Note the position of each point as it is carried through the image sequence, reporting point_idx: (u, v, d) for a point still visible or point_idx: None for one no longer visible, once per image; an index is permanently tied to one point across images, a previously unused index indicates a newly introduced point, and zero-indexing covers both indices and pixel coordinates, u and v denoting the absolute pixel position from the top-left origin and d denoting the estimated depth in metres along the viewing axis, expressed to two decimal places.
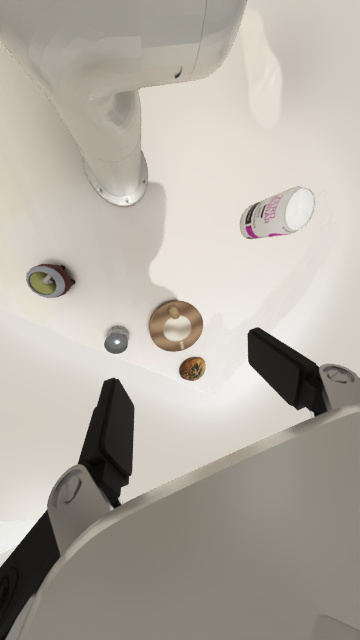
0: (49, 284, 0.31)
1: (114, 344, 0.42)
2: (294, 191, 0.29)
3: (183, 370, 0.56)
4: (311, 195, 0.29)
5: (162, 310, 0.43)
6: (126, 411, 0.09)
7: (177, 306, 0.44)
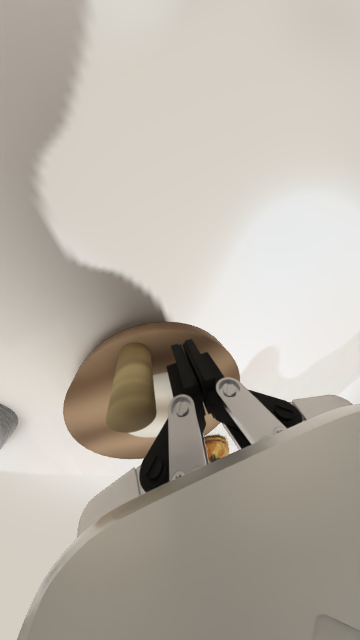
0: None
1: None
2: None
3: None
4: None
5: (98, 363, 0.11)
6: None
7: (155, 345, 0.12)
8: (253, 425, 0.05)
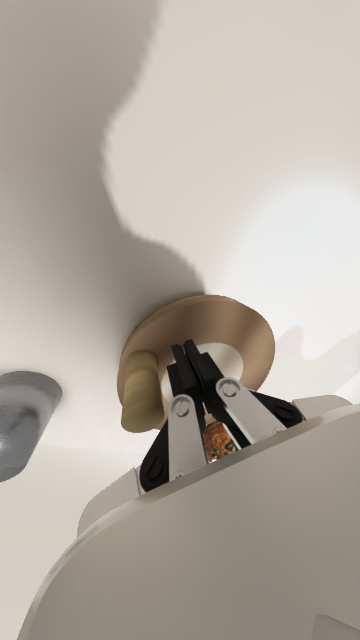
0: None
1: None
2: None
3: (206, 448, 0.25)
4: None
5: (123, 382, 0.13)
6: None
7: (149, 344, 0.12)
8: (253, 425, 0.05)
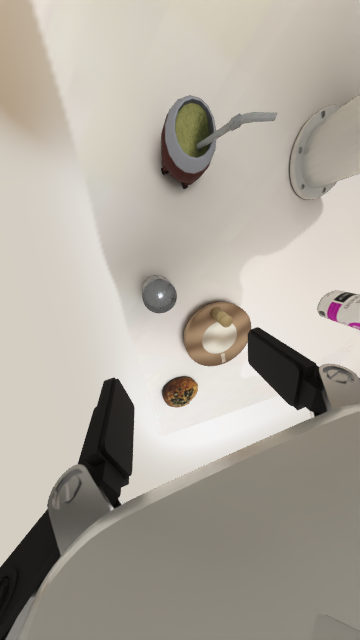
0: (194, 143, 0.18)
1: (159, 294, 0.26)
2: None
3: (175, 386, 0.41)
4: None
5: (203, 314, 0.33)
6: (126, 411, 0.09)
7: (222, 309, 0.33)
8: None
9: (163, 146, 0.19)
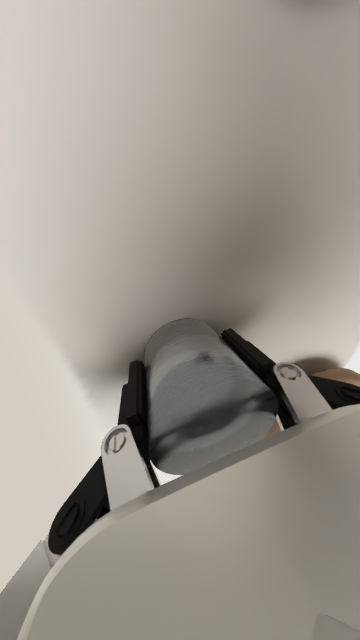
0: None
1: (216, 428, 0.06)
2: None
3: None
4: None
5: None
6: None
7: None
8: (329, 404, 0.05)
9: None
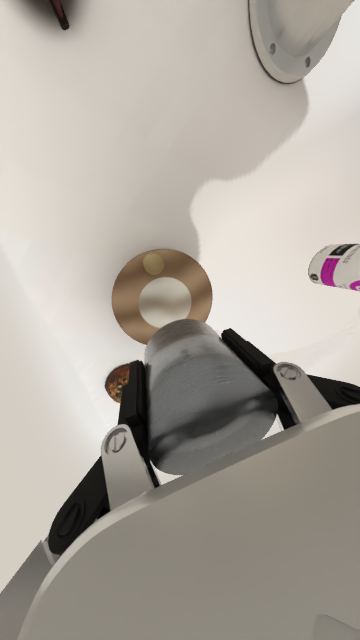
0: None
1: (216, 428, 0.06)
2: None
3: (119, 376, 0.31)
4: None
5: (132, 264, 0.22)
6: None
7: (161, 257, 0.22)
8: (329, 404, 0.05)
9: None
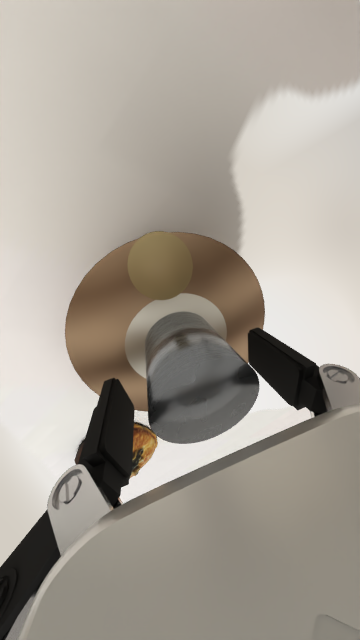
0: None
1: (206, 400, 0.07)
2: None
3: None
4: None
5: (108, 266, 0.09)
6: (126, 411, 0.09)
7: None
8: None
9: None
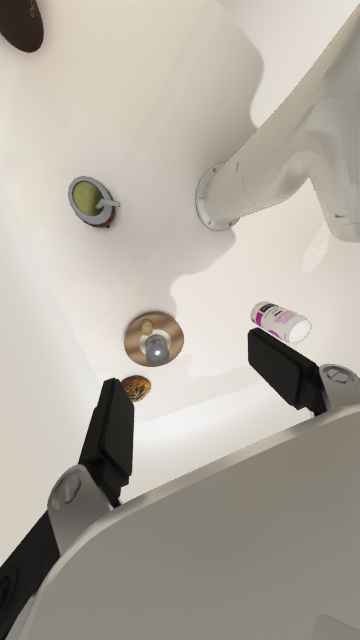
0: (92, 206, 0.25)
1: (157, 354, 0.37)
2: (304, 319, 0.38)
3: (127, 384, 0.48)
4: (309, 329, 0.40)
5: (136, 324, 0.39)
6: (126, 411, 0.09)
7: (152, 320, 0.40)
8: None
9: None
